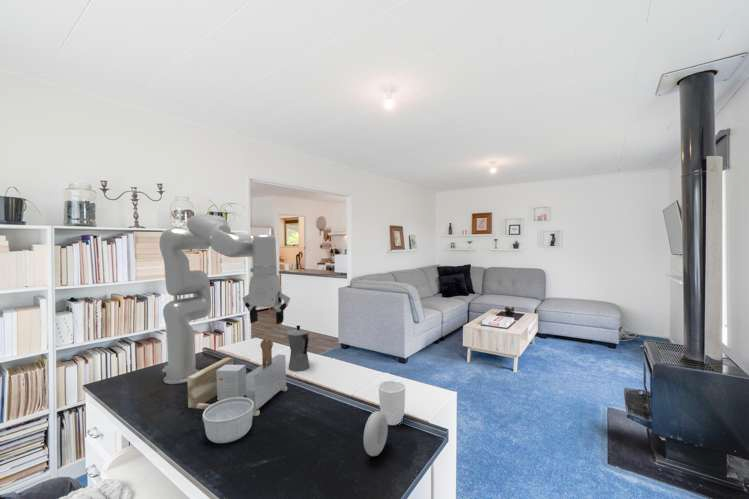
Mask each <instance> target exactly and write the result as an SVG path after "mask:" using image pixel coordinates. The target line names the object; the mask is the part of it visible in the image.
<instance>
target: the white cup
mask: <svg viewBox="0 0 749 499" xmlns="http://www.w3.org/2000/svg"><path fill="white" fill-rule="evenodd" d="M378 397H379V399H378V400H379V408H380V412H382V413H383V414H384V415H385V416H386V419H387V424H388V426H398V425H400V424H401V423H400V421H401V419H402V418H403V416H404V415H405V407H406V406H405V405H406V403H405V402H406V385H405V384H404V383H403V382H401V381H398V380H386V381H382V382H381V383H380V384H379V385H378ZM404 417H405V416H404ZM399 423H400V424H399ZM397 424H398V425H397Z"/></svg>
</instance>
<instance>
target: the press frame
mask: <svg viewBox="0 0 749 499" xmlns="http://www.w3.org/2000/svg"><path fill="white" fill-rule="evenodd" d="M224 365H235V364H234V357H225V358H222V359H221V360H219V361H216V362H214V363H213V364H211V365H209V366H206V367H205V368H202V369H201V370H199V372H197V373H195V374H193V375H191V376H189V377H187V381H188V382H187V402H188V403H187V404H188V408H190V409H199V410H205V409H206V408H208V407H209V406H210V405H212V404H213V403H212V404H211V403H207V402H209V401H210V400H212V399H213V398H215V397H216V396H217V376H216V371H217V370H218V369H219V368H221V367H222V366H224ZM287 390H288V386H287V385H286V386H285V387H283V388H282V389H281V390H280V391H279V392H286V391H287ZM260 412H261V411H260V409H257V410H256V411H253V417H256V416H257V417H258V416H259V415H260Z"/></svg>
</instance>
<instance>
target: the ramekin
mask: <svg viewBox="0 0 749 499" xmlns="http://www.w3.org/2000/svg"><path fill="white" fill-rule="evenodd" d="M253 410H254V403H253V401H252V400H251V399H248V398H247V397H245V396H244V397H234V398H228V399H224V400H221V401H218V400H217V401H216V402H214V403H212V405H210V406H209V407H208V408H206V409H204V411H203V413H202V421H203V423H204V424H203V425H204V432H205V436H206V437H207V439H208V440H209V441H211V442H212V443H213V444H227V443H232V442H235V441H237V440H239V439H241V438H242V437H244V436H245V435H246V434H248V432H249V430H250V429H252V428H251V427H252V425H253V417H254V416H253Z"/></svg>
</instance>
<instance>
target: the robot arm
mask: <svg viewBox="0 0 749 499" xmlns="http://www.w3.org/2000/svg"><path fill="white" fill-rule="evenodd" d="M276 241H277V240H276V237H275V235H273V234H232V231H231V227H230V226H229V224H228V221H227V219H225V217H223V216H221V215H216V214H215V215H214V214H202V213H200V214H199V213H198V214H194V215H192V216H190V217H189V218H188V219H187V220H186V227H171V228H167V229H165V230H164V231H163V232H162V233H161V235H160V236H159V243H158V244H159V249H160V253H161V256H162V258H163V264H164V276H165V278H164V279H165V288H166V292H167V293H168V295H170V296H173V297H179V296H186V295H192V296H191V297H184V298H178V299H177V298H176V299H174V300H171V301H168V302H167V303H166V304H165V305H164V307H163V309H162V315H163V318H164V323H165V329H166V330H165V331H166V344H167V345H166V348H167V365H165V366H164V368H162V370H161V372H162V373H165V374H166V375H165V376H164V377H163V382H164V384H168V385H179V384H184V383H188V381H187V377H189V376H191V375H193V374H195V373H197V372H199V371H200V370H199V369H197V367H196V363H197V362H196V339H195V338H196V336H195V335H196V334H195V330H194V328H193V327H192V326H191V324H190V323H189V322H192V321H197V320H201V319H204V318H206V317H209V315H210V313H211V310H212V297H211V284H210V283H211V282H210V279H209V277H208V275H207V273H206V272H205V271H203V270H199V269H196V270H194V269H193V270H191V268H190V259H189V258H188V255H186V254H185V252H184V251H183V250H204V249H208V248H209V247H211V248H212V249H213V251H214V252H216V253H218V254H220V255H223V256H224V257H227V258H245V257H246V258H249V257H252V267H251V268H250V270H249V272H250V273H252V276H250V278H249V284H248V285H249V287H248V294H246V295H245V296H242V301H243V303H244V307H246V308H247V311H248V312H249V319H250V321H249V322H250V324H254V323H256V322H258V320H259V319H258V309H257V308H258V307H261V308H262V307H267V308H269V307H270V308H271V307H274V308H275V309H276V312H275V323H276V325H280V324H282V323H283V322H284V319H285V318H284V311H285V310H286V309H287V307H288V306H289V303H290V301H291V297H289V296H288V295H286V294H285V293H282V286H281V281H280V276H279V274H278V271H277V270H278V269H277V245H276V244H277V242H276ZM282 301H283V303H282Z"/></svg>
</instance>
